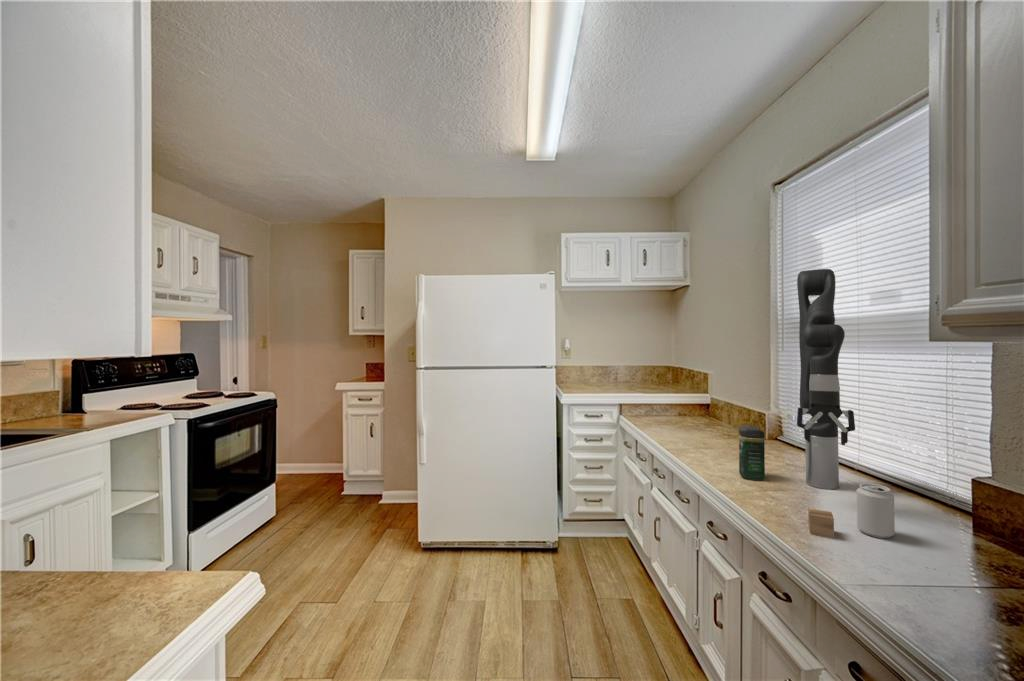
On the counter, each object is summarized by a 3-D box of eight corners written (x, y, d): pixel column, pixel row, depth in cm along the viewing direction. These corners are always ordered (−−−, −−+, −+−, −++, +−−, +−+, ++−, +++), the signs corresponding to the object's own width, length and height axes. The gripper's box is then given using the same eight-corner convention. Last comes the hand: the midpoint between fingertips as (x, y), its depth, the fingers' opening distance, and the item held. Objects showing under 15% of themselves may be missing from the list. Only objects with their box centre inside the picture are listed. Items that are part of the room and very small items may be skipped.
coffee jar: (767, 481, 153) (766, 429, 153) (742, 480, 155) (741, 428, 155) (760, 473, 162) (760, 423, 162) (737, 472, 164) (736, 423, 164)
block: (808, 527, 116) (808, 508, 116) (831, 530, 114) (831, 511, 114) (810, 534, 112) (809, 514, 112) (834, 538, 110) (833, 518, 110)
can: (902, 540, 108) (901, 492, 108) (867, 538, 109) (866, 490, 109) (883, 528, 115) (882, 482, 115) (850, 526, 116) (850, 481, 116)
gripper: (851, 390, 133) (852, 444, 132) (795, 388, 140) (796, 439, 139) (855, 391, 126) (857, 447, 125) (797, 388, 134) (798, 442, 132)
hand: (825, 443), depth 132 cm, fingers open, 8 cm apart
